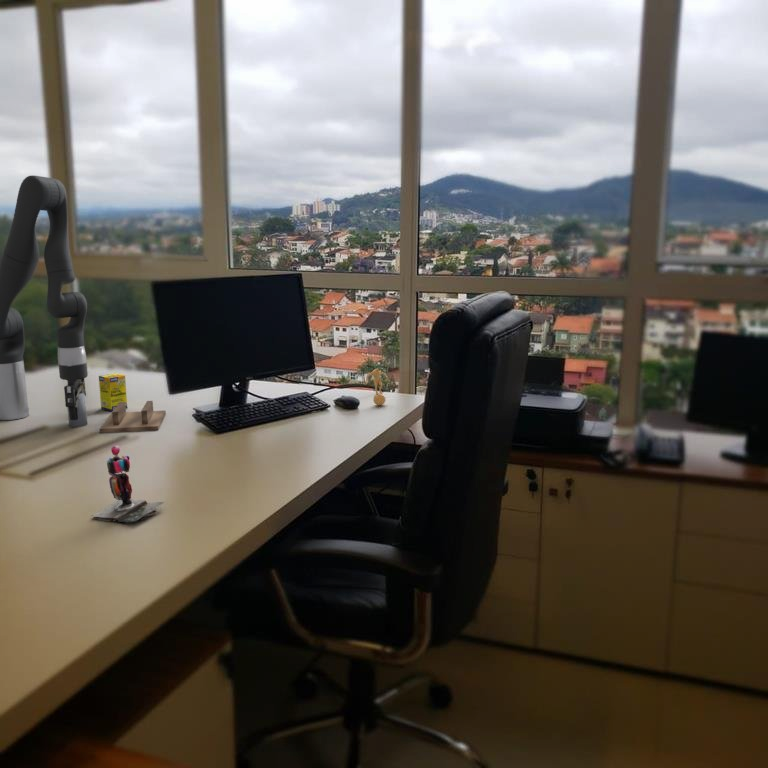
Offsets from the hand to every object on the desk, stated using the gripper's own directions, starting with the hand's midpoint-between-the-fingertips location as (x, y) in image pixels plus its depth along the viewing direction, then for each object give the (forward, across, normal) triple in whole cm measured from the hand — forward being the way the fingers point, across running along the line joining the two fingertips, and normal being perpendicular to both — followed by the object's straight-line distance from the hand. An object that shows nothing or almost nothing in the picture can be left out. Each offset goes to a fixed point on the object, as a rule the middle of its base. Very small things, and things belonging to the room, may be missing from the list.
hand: (77, 416), depth 216 cm
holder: (+3, +1, +16) cm, 16 cm away
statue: (+3, +73, +26) cm, 78 cm away
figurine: (+3, -9, +91) cm, 91 cm away
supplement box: (+3, -18, +7) cm, 20 cm away
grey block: (+3, 0, 0) cm, 3 cm away
